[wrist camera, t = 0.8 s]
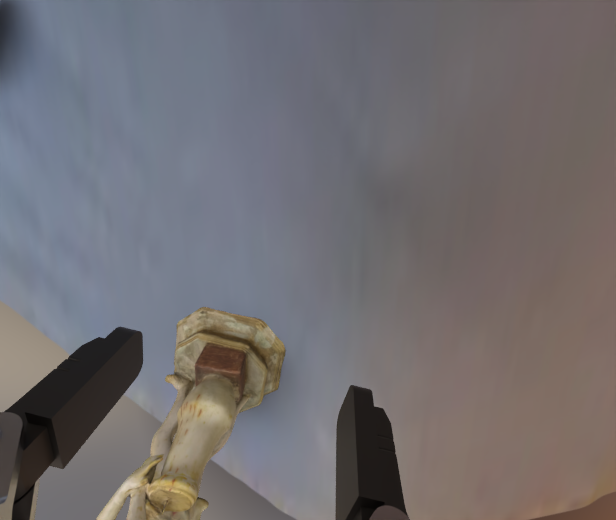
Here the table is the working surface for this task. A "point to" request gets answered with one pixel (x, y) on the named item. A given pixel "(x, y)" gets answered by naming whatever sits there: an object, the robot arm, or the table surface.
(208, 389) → the statue
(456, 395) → the table surface
